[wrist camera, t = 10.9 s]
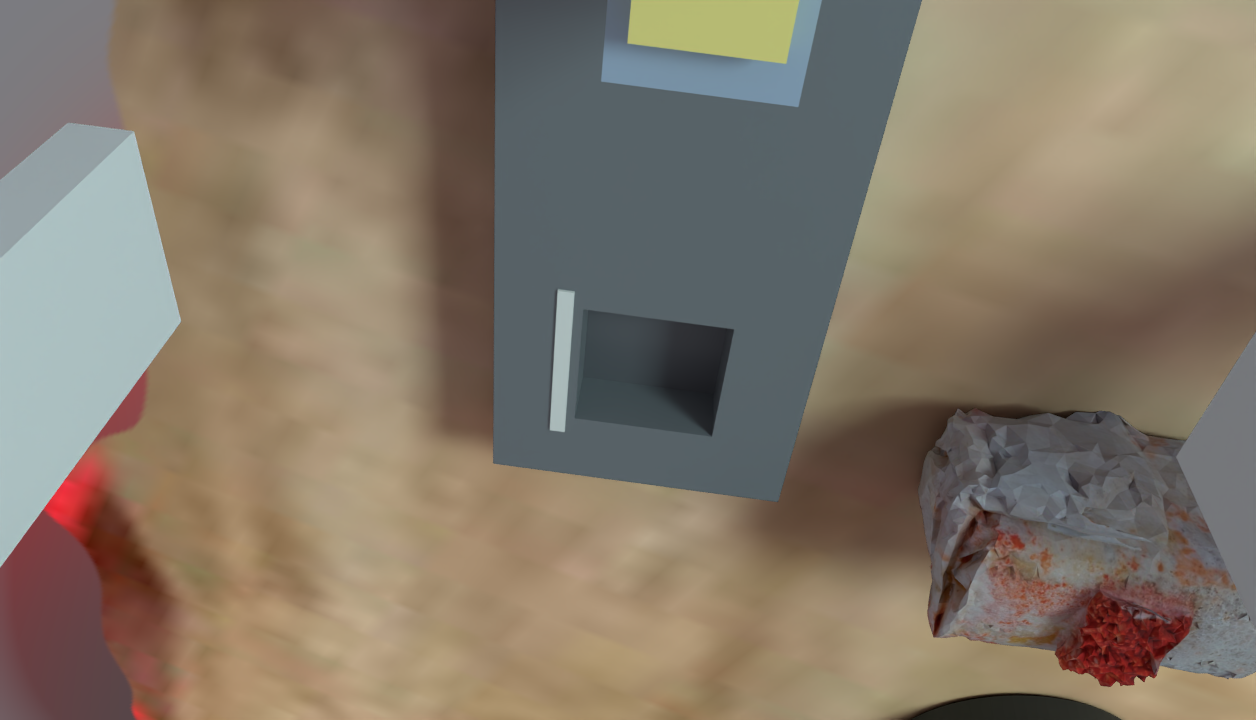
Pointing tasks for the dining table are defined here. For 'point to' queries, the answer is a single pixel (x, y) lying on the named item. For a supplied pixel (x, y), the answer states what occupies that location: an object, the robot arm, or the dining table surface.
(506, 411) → the panel
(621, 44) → the plug
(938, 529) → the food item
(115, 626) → the dining table surface
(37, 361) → the robot arm
